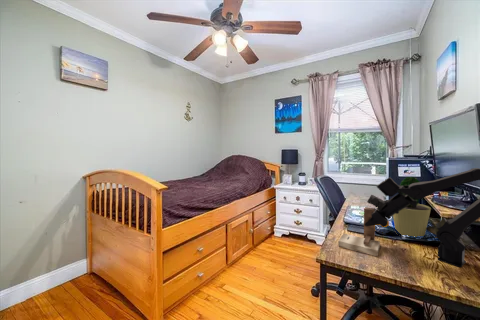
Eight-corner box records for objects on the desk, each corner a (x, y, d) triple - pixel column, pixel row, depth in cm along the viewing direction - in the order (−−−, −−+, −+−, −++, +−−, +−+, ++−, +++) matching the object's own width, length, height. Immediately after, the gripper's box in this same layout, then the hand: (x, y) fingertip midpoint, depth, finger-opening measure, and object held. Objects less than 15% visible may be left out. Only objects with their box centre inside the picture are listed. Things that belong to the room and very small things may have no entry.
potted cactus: (400, 240, 99) (401, 177, 97) (385, 227, 114) (386, 173, 112) (438, 242, 96) (440, 178, 94) (417, 229, 111) (419, 173, 109)
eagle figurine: (449, 237, 98) (424, 230, 103) (455, 228, 94) (429, 221, 99) (449, 251, 94) (423, 242, 99) (456, 242, 90) (428, 234, 95)
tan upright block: (374, 241, 98) (375, 208, 97) (371, 252, 88) (371, 215, 87) (364, 239, 100) (365, 206, 99) (360, 249, 91) (360, 213, 90)
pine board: (379, 246, 93) (379, 241, 93) (377, 256, 85) (377, 250, 85) (343, 238, 103) (343, 233, 102) (338, 246, 95) (338, 240, 95)
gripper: (381, 186, 101) (356, 205, 108) (377, 194, 86) (348, 215, 94) (402, 205, 96) (373, 223, 104) (401, 216, 82) (368, 236, 89)
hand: (365, 224), depth 98 cm, fingers closed on tan upright block, 4 cm apart
